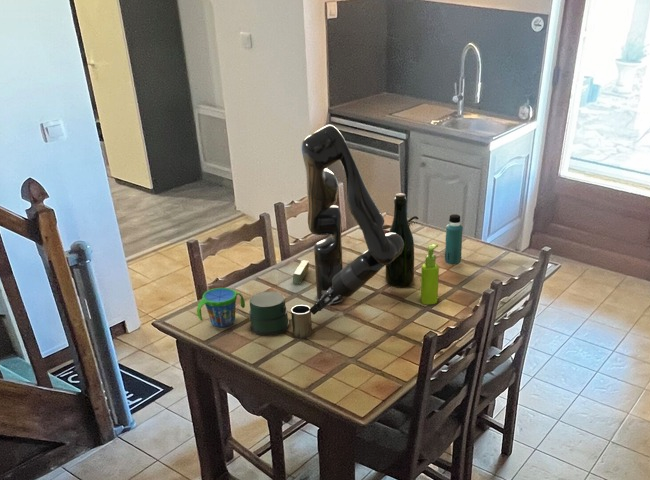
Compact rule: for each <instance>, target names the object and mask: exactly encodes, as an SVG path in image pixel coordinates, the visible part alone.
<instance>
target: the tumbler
mask: <svg viewBox="0 0 650 480" xmlns="http://www.w3.org/2000/svg"><path fill="white" fill-rule="evenodd" d="M310 308H311V307H310V306H309V305H305V304H297V305H294V306H293V307H292V308H291V309H290V314H291V315H290V316H291V325H292V335H293V337H294V338H295V339H299V340H305V339H309V338H311V337H312V336H313V324H312V323H313V322H312V313H311V312H310V310H309V309H310Z"/></svg>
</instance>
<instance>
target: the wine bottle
mask: <svg viewBox="0 0 650 480" xmlns="http://www.w3.org/2000/svg"><path fill="white" fill-rule="evenodd" d="M407 204H408V199H407V197H406V194H405V193H401V192H400V193H396V194H395V197H394V199H393V205H394V207H393V208H394V209H393V218H392V223H391V225H390V226H391V228H389V230H388V231H389V233H396V234H398V235H399V236H400V237H401V238H402V239H403V242H404V248H403V251H402V253H401V254H400V255H399V256H398V257H397V258H395V259H394V260H393V261H392V262H391V263H389V264H386V265H385V266H384V267H385V269H384V271H385V278H384V279H385V282H386V284H387V285H389V286H390V287H394V288H406V287H409V286H411V285H413V283H414V281H415V240H414V235H413V232H412V230H411V227H410V225H409V223H408V220H409V219H408V212H407Z"/></svg>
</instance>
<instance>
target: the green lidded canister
mask: <svg viewBox="0 0 650 480" xmlns="http://www.w3.org/2000/svg"><path fill="white" fill-rule="evenodd" d="M248 302H249V312H248V314H249V315H248V316H249V320H250V321H249V322H250V323H249V328H250V331H251V332H252V333H253V334H254V335H256V336H260V337H275V336H279V335H281V334H283V333H286V331H288V330H289V328H290V320H289V316H288V313H289V311H288V308H287V306H286V298H285V296H284V294H282V293H281V292H277V291H271V290H270V291H260V292H258V293H255V294H253V295H251V297H250V299H249V301H248Z"/></svg>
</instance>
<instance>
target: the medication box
mask: <svg viewBox="0 0 650 480" xmlns="http://www.w3.org/2000/svg"><path fill="white" fill-rule="evenodd" d="M309 267H310V261H309V260H305V259H302V260H301V261H300V263H299V265H298V266H297V268H296V269H295V270H294V272H293V276H292V284H294V285H301V282H302V281H303V280H304V278H305V276H306V274H307V273H308V271H309Z"/></svg>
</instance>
